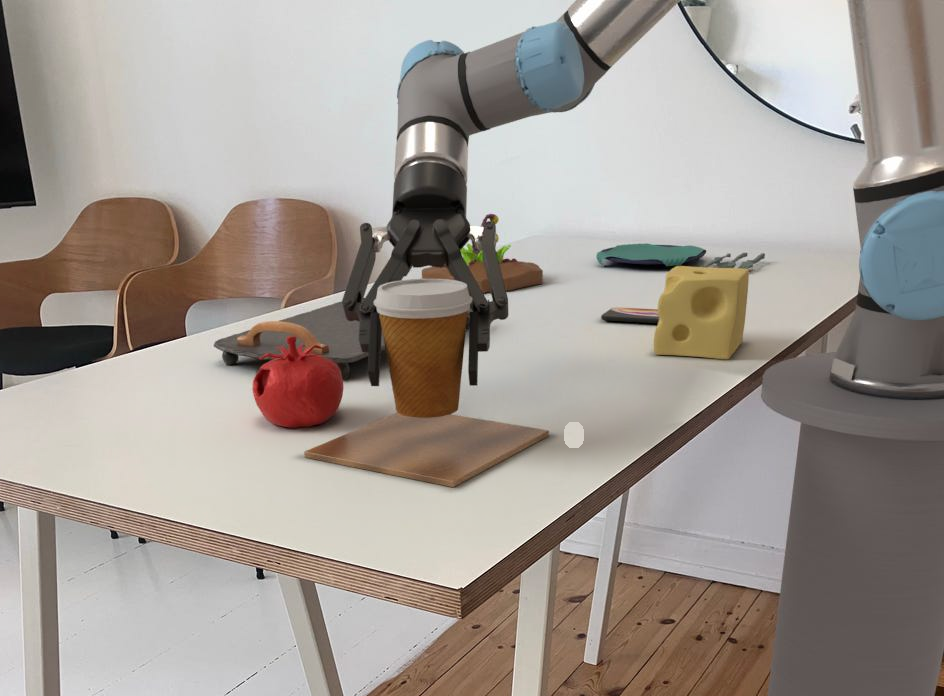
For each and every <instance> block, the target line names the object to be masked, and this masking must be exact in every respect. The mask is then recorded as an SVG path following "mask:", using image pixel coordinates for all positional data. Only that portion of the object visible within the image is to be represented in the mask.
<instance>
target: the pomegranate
mask: <svg viewBox="0 0 944 696" xmlns="http://www.w3.org/2000/svg"><path fill="white" fill-rule="evenodd" d="M296 340H297V338H296V336H295V335H294V336H289V337H287V338H286V341H287V343H288V345H289V351H287V350H286V349H285V348H284V347H281V346H280V347H275V348H280V350H281V351H282V353H283V355H281V354H279V355H277V354H271V353H267V354H265V355H264V356H263V357H261V358H257V359H258V360H260V361H262V360H265V359H264V358H265V357H274V358H275V359H273V360H268V361H267V362H265V363H263V364H262V365H261V366H260V367H259V370H258V371H257V373H256V374H255V375H254V378H253V380H252V396H253V398H254V402H255V404H256V406H257V408H258V409H259V411H260V412H261V414H262V416H263V417H264V419H265V420H266V421H267V422H269V423H271V424H273V425H276V426H279V427H284V428H292V429H293V428H294V429H296V428H301V427H304V428H309V427H313V426H316V425H320V424H323V423H324V422H326V421H327V420H329V419H330V418H332V417H333V416H334V415H335V414H336V413H337V411H338V410H339V408H340V405H341V402H342V399H343V395H344V379H342V375H341V371H340V369H339V367H338V365H337V364H336V363H335V362H333V361H332V360H329V359H326V358H323V357H321V356H319V355H316V354H311V353H309V352H310V351H311V350H312V349H313V348H320V349H325V348H322V347H321V346H318V345H313V346H311V347H309V348H307V349H306V350H304V351H303V352H302V348H303V346H304V345H300V346H299V347H298V349H297V348H296V343H295V342H296ZM304 347H306V346H304ZM325 350H329V349H325Z"/></svg>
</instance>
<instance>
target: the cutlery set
mask: <svg viewBox="0 0 944 696" xmlns="http://www.w3.org/2000/svg"><path fill="white" fill-rule="evenodd" d="M706 254H707V250H706V249H704V248H702V247H700V246H695V245H673V244H652V243H628V244H620V245H619V244H618V245H615V246H613V247H608V248H603V249H602V250H600V251H598V252H596V260H597V262H598V263H599V264H600V265H601V266H602V267H604V264H603V260H607V261H610V262H615V263H620V264H621V263H622V264H623V263H624V264H633V265H665V266H666V267H673V266H674V267H676V266H682V264H684V263H689V262H694V261H697V260H700V259H702V258H703V257H704V256H705V255H706ZM731 256H732V253H728V252H727V253H726V255H724V256H714V260H711V261H708V262H706V263H704V264H702V265H703V266H702V267H707V268H710V266H713V265H715V266H716V268H736V265H737V262H738V261H739V260H741V259H743V258H747V257H748V252H742V253H741V254H739V255H737V256H736V257H734V259H732V260H731V261H723V259H725V258H731ZM765 257H766V253H763V252H762V253H760V254H759V255H757V256H756V257H755V258H754V259H747V260H746V261H742V262H741V264H740V265H738V267H737V268H742V269H751V268H753V267H754V264H757V263H759V262H760V261H762V260H764V259H765Z"/></svg>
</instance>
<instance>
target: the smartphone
mask: <svg viewBox="0 0 944 696" xmlns="http://www.w3.org/2000/svg"><path fill="white" fill-rule="evenodd" d="M600 318H601V320H603V321H608V322H609V321H610V322H612V321H613V322H626V323H627V322H629V323H644V324H645V323H648V324H658V322H659V315H658V308H656V309H653V308H638V307H611V308H610V309H608V310H607V311H605V312H604V313H603V314H601V316H600Z"/></svg>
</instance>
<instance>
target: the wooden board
mask: <svg viewBox="0 0 944 696" xmlns="http://www.w3.org/2000/svg"><path fill="white" fill-rule="evenodd" d="M549 436H550V430H549V429H543V428H537V427H532V426H524V425H518V424H512V423H507V422H501V421H500V422H499V421H495V420H488V419H481V418H475V417H469V416H465V415H458V414H453V413H452V414H450V415H446V416H442V417H435V418H415V417H408V416H404V415H401V414H399V413H398V412H397V411H396V412H395V413H392V414H390V415H387V416H385V417H383V418H381V419H378V420H376V421H374V422H372V423H369V424H366V425H364V426H362V427H360V428H357V429H354V430H352V431H350V432H348V433H345V434H343V435H340V436H338V437H335V438H333V439H331V440H328V441H326V442H324V443H321V444H320V445H317V446H314V447H311V448H309V449H308V450H305V451H304V453H303V454H304V458H307V459H313V460H317V461H322V462H327V463H332V464H336V465H342V466H347V467H351V468H357V469H362V470H367V471H371V472H376V473H381V474H386V475H391V476H396V477H401V478H406V479H410V480H415V481H420V482H424V483H425V482H426V483H429V484H430V483H431V484H435V485H440V486H445V487H451V488H455V487H458V485H461V484H463V483H464V482H466V481H468V480H470V479H472V478H474V477H476V476H477V475H479V474H480V473H483V472H484V471H486V470H488V469H490V468H492V467H494V466H496V465H498V464H500V463H501V462H503V461H505V460H507V459H508V458H511V457H512V456H514V455H516V454H518V453H520V452H521V451H523V450H525V449H527V448H529V447H530V446H532V445H534V444H536V443H538V442H540V441H542V440H543V439H546V438H547V437H549Z"/></svg>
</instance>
